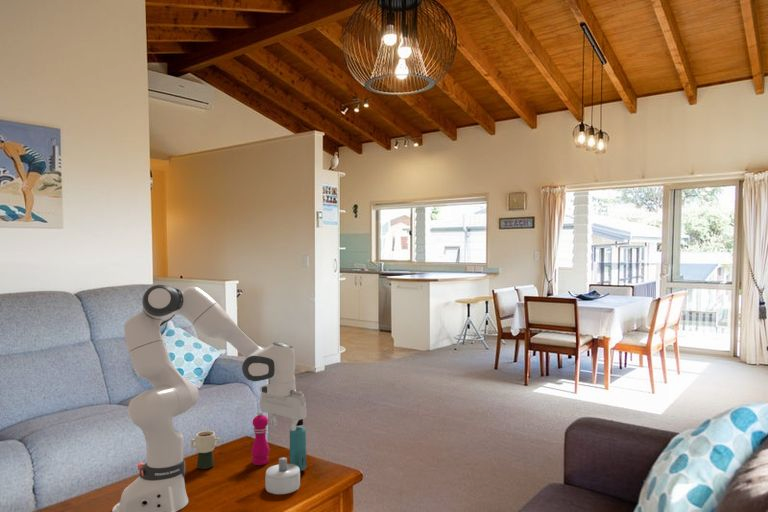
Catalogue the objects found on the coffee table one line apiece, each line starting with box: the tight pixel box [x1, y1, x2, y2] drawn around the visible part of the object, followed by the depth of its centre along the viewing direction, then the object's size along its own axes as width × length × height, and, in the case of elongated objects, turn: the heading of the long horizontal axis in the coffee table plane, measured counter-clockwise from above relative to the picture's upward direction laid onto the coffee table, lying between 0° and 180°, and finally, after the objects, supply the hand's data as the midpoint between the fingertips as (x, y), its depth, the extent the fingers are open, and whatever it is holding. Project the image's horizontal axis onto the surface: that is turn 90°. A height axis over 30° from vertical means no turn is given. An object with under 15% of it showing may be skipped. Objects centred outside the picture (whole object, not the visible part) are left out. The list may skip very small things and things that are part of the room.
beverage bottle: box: [288, 419, 308, 472], centre depth 196 cm, size 6×7×20 cm
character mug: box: [190, 430, 221, 470], centre depth 200 cm, size 11×7×13 cm, turn 100°
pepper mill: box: [250, 410, 271, 466], centre depth 205 cm, size 7×7×20 cm
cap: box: [264, 456, 301, 495], centre depth 183 cm, size 12×12×10 cm
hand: (283, 427), depth 183 cm, fingers open, 8 cm apart
